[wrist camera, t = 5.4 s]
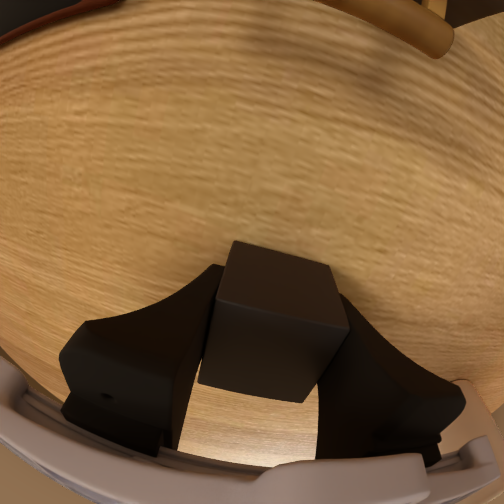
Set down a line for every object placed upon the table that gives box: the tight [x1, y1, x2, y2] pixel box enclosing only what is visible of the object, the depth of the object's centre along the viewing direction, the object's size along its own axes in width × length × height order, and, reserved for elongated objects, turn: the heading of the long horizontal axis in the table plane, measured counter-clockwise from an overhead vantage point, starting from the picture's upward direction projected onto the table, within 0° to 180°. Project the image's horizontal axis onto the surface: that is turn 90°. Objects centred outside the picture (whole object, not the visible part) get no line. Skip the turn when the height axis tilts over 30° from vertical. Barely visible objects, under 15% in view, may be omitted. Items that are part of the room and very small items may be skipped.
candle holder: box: [437, 380, 504, 504], centre depth 13 cm, size 10×10×12 cm
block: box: [197, 241, 350, 403], centre depth 11 cm, size 4×4×4 cm
